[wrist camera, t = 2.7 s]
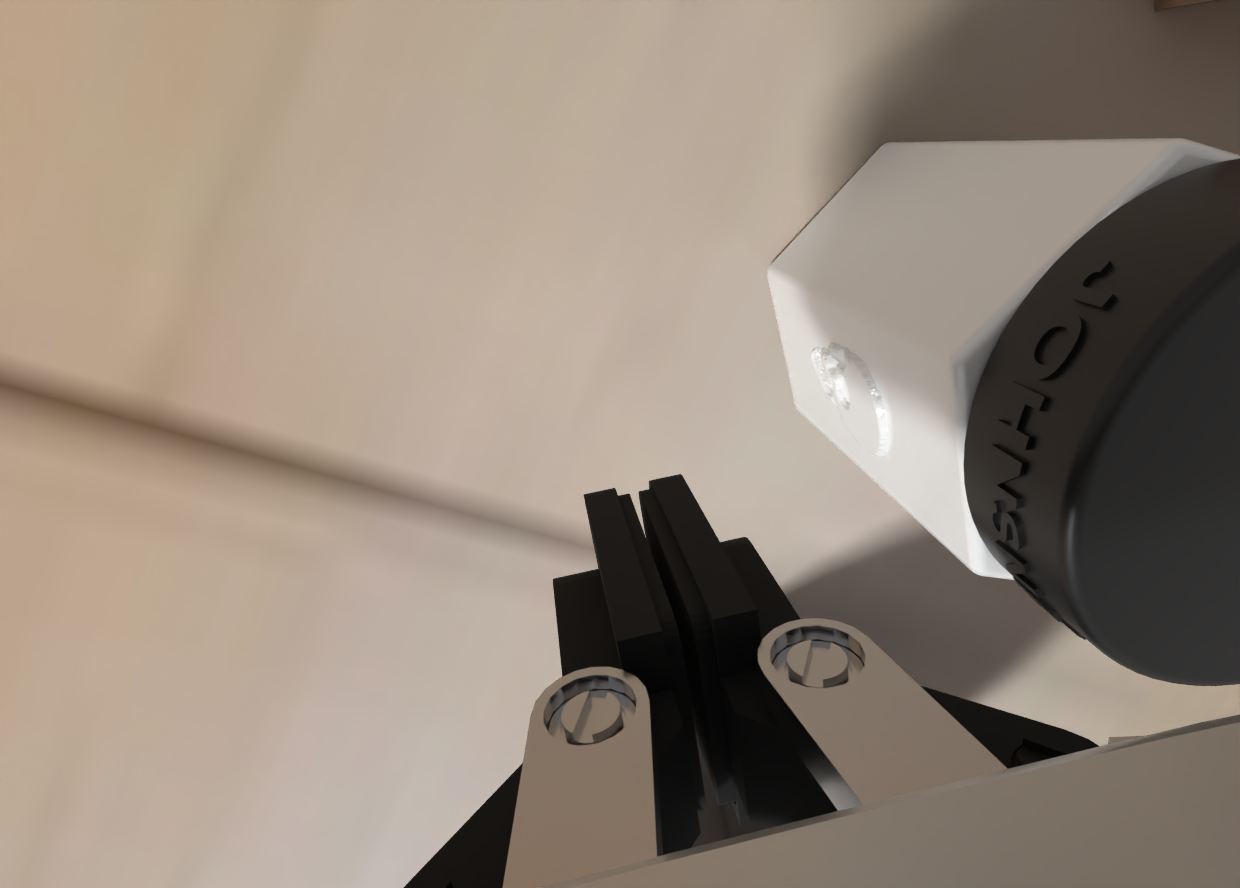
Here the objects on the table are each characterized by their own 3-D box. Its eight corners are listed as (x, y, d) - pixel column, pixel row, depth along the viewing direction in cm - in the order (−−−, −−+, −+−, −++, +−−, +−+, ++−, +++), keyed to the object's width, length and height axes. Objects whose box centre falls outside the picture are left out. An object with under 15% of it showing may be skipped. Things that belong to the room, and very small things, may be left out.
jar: (738, 192, 19) (1048, 253, 8) (1021, 94, 19) (1716, 22, 8) (800, 471, 23) (1071, 775, 12) (1037, 388, 23) (1526, 614, 12)
